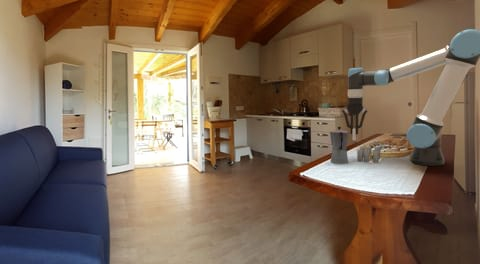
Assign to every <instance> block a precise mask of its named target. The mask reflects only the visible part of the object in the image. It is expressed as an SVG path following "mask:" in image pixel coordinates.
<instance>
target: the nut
mask: <svg viewBox="0 0 480 264" xmlns="http://www.w3.org/2000/svg"><path fill="white" fill-rule="evenodd" d="M363 159H364V153H363ZM369 161H373V152H371V153H369Z"/></svg>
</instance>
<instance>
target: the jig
mask: <svg viewBox="0 0 480 264" xmlns="http://www.w3.org/2000/svg"><path fill="white" fill-rule="evenodd" d="M356 153H357V154H356V155H357V157H356V158H357V159H356V162H359V163H371V164H373V163H374V164H380V163H381V161H382V157H381V147H380V146H375V147H374V150H373V151H372V146H363V145H361V146H359V149H357V152H356ZM363 153H364V159H363ZM369 153H372V154H373V161H369Z"/></svg>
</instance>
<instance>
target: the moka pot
mask: <svg viewBox="0 0 480 264" xmlns="http://www.w3.org/2000/svg"><path fill="white" fill-rule="evenodd" d="M329 134H330V135H329V136H330V143H331V147H332V150H331V157H330V162H331V164H335V165H337V164H338V165H345V164H348V163H349V159H348V151H347V146H348V142H349V141H348V139H349V131H347V130H343V129H342V127H341V126H338V127H337V129H335V130H332V131H329Z"/></svg>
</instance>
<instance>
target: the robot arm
mask: <svg viewBox="0 0 480 264" xmlns="http://www.w3.org/2000/svg"><path fill="white" fill-rule="evenodd" d="M479 60H480V30H478V29H474V28H469V29H464V30H462V31H460V32H458V33H456V34H455V36H454V37H453V38H452V39H451V41H450V43H449V44H446V46H445V47H444V48H441V49H438V50H436V51H433V52H431V53H428V54H424V55H421V56H420V57H417V58H414V59H411V60H409V61H407V62H403V63H401V64H398V65H395V66H393V67H390V68H386V69H378V70H369V71H368V70H367V71H366V70H365V71H364V68H363V67H353V68H352V67H351V68H348V72H347V73H348V74H347V97H348V98H347V105H346V107H345V109H343V110H342V113H343V115H344V120H345V124H346V127H347V128H349V130H350V135H352V139H351V140H352V141H353V142H354V141H357V135H358V134H359V129H361V128H362V127H363V124H364V121H365V117H366V114H367V113H368V110H367V109H365V108H364V106H363V102H364V101H363V96H364V94H363V93H364V90H363V89H364V87H368V86H369V87H370V86H372V87H373V86H388V85H389V84H391V83H394V82H397V81H401V80H403V79H406V78H409V77H411V76H414V75H417V74H418V75H419V74H421V73H424V72H426V71H430V70H433V69H436V68H439V67H442V66H444V65H445V66H444V68H443V70H442V72H441V73H440V76H439V78H438V80H437V82H436V84H435V86H434V87H433V90H432V92H431V94H430V96H429V98H428V100H427V102H426V104H425V106H424V108H423V110H422V112H421V113H419V114H417V115H416V116H415V119H414V120H413V122H412V124H411V126H409V128H408V129H407V130H406V131H407V132H406V139H407V141H408V142H409V144H410V145H411V146H413V148H412V151H411V153H410V155H409V161H410V162H411V163H413V165H414V164H415V165H420V166H429V167H430V166H431V167H432V166H433V167H437V166H443V165H445V157H444V154H443V152H442V130H443V127H444V122H443V119H444V118H445V115H446V114H447V112H448V110H449V108H450V106H451V104H452V102H453V100H454V98H455V97H456V95H457V92H458V91H459V89H460V87H461V85H462V83H463V81H464V79H465V77H467V73H468V72H469V70H470V69H473V68H475V67H476V66H477V64H478V62H479ZM348 113H349V114H350V119H349V115H348ZM361 113H362V115H361V118H360V117H359V116H360V114H361ZM354 116H355V119H354ZM359 118H360V121H359ZM354 120H355V127H354ZM359 122H360V123H359Z"/></svg>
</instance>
